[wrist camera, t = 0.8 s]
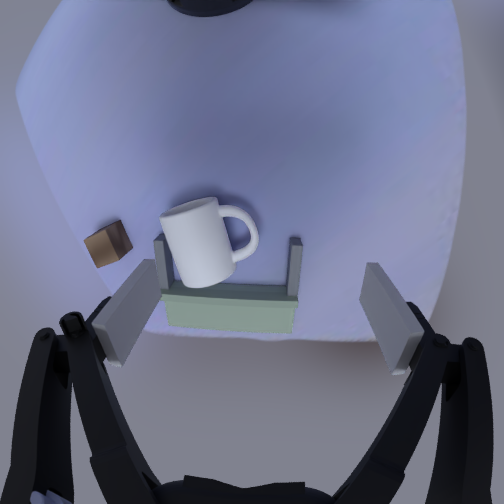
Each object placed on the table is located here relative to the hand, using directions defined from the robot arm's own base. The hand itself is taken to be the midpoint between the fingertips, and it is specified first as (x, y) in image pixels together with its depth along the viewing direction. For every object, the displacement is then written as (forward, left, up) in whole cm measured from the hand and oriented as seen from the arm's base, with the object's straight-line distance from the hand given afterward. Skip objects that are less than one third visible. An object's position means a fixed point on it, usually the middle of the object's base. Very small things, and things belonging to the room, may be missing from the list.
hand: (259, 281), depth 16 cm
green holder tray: (+13, -5, -23) cm, 27 cm away
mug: (+4, -7, -23) cm, 25 cm away
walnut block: (+6, -24, -23) cm, 34 cm away
